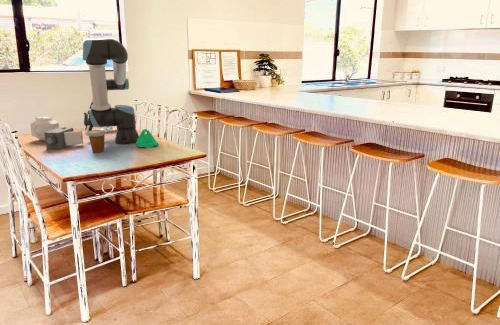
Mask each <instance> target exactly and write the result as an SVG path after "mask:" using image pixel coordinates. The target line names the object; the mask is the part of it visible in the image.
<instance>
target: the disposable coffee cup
mask: <svg viewBox="0 0 500 325" xmlns="http://www.w3.org/2000/svg"><path fill="white" fill-rule="evenodd" d="M105 135H106V132H104V130H100V129H92V131H89V132H88V136H87V137H88V138H89V143H90V145H91V151H92V152H93V153H94V154H97V153H100V154H101V153H103V152H105Z"/></svg>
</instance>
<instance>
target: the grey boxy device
mask: <svg viewBox="0 0 500 325" xmlns="http://www.w3.org/2000/svg"><path fill="white" fill-rule="evenodd" d="M74 131H75V130H74V127H67V126H59V128H56V129H53V130H50V131H47V132H44V134H45V141H44V142H45V147H46V149H47V150H62V149H65V148H67V147H69V146H71V145H68V146H65V139H64V133H66V132H74Z"/></svg>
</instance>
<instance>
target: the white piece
mask: <svg viewBox="0 0 500 325" xmlns="http://www.w3.org/2000/svg"><path fill="white" fill-rule="evenodd" d="M99 130H104V132H105V133H107V132H115V131H117V128H114V127H113V126H110V127H101V129H99Z"/></svg>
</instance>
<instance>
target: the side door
mask: <svg viewBox="0 0 500 325" xmlns="http://www.w3.org/2000/svg"><path fill="white" fill-rule="evenodd" d="M83 135H84V134H83V130H74V132H66V133H64V139H65V146H67V147H69V146H68V145H70V146H73V145H74V146H75V145H76V146H77V145H83V144H84V137H83Z"/></svg>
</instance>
